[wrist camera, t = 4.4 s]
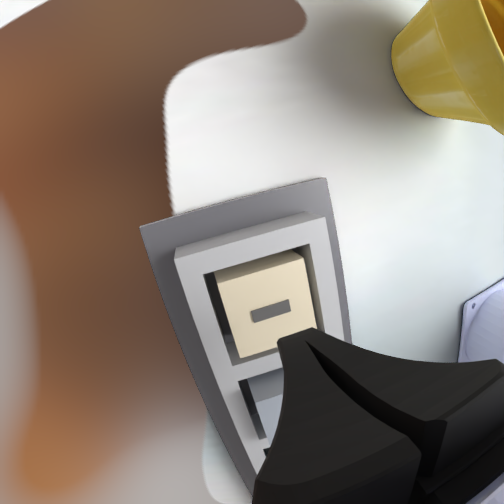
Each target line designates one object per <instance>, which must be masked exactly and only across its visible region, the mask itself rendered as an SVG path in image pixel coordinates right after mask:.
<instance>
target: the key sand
mask: <svg viewBox="0 0 504 504" xmlns="http://www.w3.org/2000/svg"><path fill="white" fill-rule="evenodd" d="M214 274H215V278H216V281H217V285H218V288H219V292H220V295H221V298H222V302H223V305H224V308H225V311H226V315H227V318H228V321H229V324H230V328H231V331H232V334H233V337H234V340H235V344H236V347H237V350H238V353H239V356H240V358H243V357H247V356H250V355H253V354H257V353H260V352H263V351H266V350H269V349H272V348H275V347H278V346H277V341H278V339H279V338H282V337H285V336H288V335H291V334H294V333H296V332H299V331H302V330H305V329H308V328H311V327H313V328H316V329H317V327H316V321H315V316H314V310H313V305H312V299H311V294H310V288H309V283H308V278H307V273H306V268H305V263H304V258H303V257H301V256H300V255H299V254H297V253H296V252H294V251H293V250H291V249H288V250H285V251H282V252H278V253H275V254H271V255H268V256H265V257H261V258H258V259H254V260H251V261H247V262H244V263H241V264H237V265H234V266H230V267H227V268H223V269H220V270H216V271H214Z"/></svg>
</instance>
